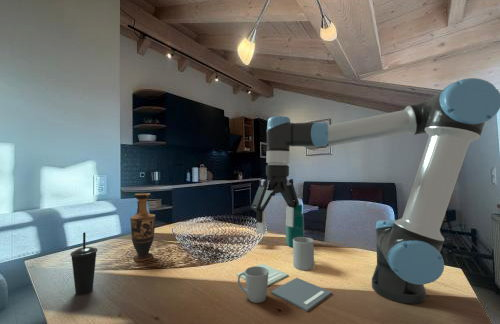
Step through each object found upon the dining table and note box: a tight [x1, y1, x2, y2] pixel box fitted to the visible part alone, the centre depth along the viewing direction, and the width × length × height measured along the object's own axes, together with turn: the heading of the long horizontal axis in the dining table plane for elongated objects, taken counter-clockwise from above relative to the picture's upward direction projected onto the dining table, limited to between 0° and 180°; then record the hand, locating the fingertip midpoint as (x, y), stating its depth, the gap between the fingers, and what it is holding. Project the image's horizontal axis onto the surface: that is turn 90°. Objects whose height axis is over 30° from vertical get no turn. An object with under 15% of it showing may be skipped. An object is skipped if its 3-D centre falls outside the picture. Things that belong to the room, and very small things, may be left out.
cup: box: [237, 265, 269, 304], centre depth 76 cm, size 8×10×8 cm
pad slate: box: [270, 277, 333, 312], centre depth 78 cm, size 14×14×1 cm
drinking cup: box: [70, 232, 98, 296], centre depth 82 cm, size 8×8×20 cm
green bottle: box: [284, 203, 305, 248], centre depth 127 cm, size 10×8×22 cm
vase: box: [129, 192, 156, 262], centre depth 111 cm, size 11×11×30 cm
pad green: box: [236, 263, 289, 287], centre depth 91 cm, size 14×14×1 cm
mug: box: [292, 236, 315, 272], centre depth 101 cm, size 12×8×11 cm
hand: (276, 229), depth 78 cm, fingers open, 13 cm apart
